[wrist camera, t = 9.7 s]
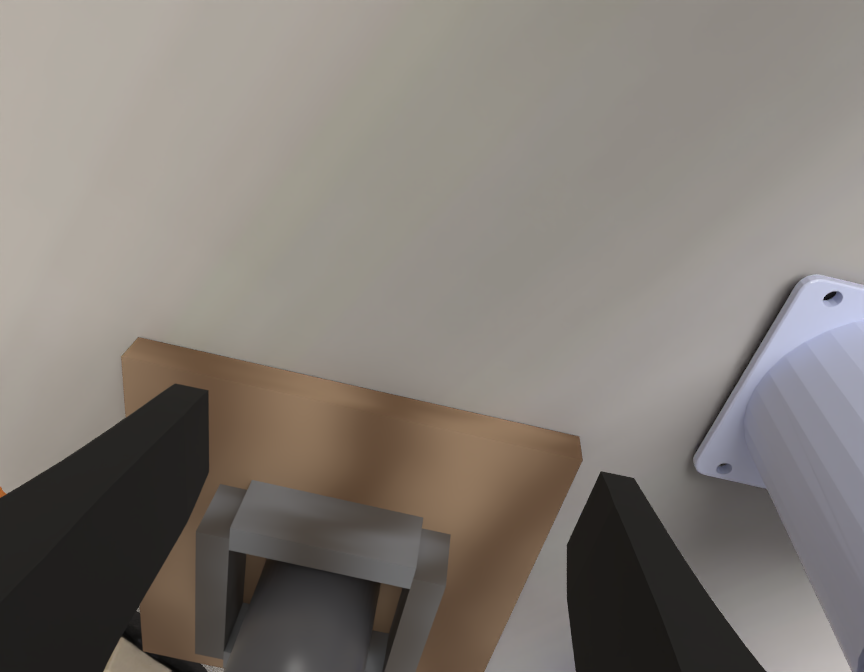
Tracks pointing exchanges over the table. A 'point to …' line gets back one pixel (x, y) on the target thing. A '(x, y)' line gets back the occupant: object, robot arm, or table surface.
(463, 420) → the mount board
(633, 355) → the table surface
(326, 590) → the lens
